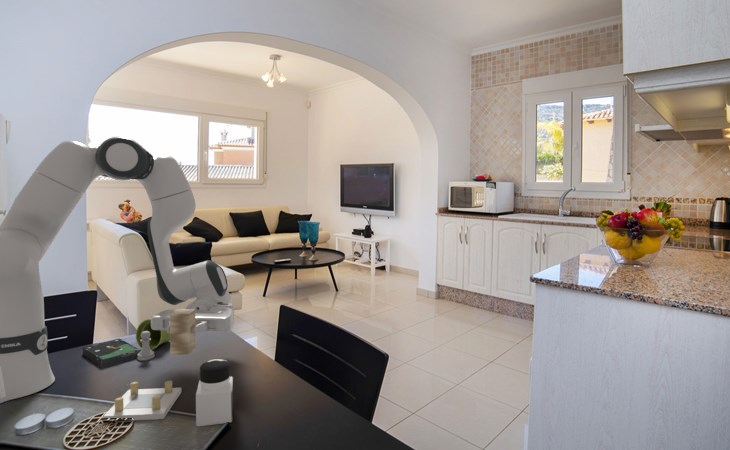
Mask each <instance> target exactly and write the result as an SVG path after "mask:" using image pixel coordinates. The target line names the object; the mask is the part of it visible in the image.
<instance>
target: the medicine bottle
mask: <svg viewBox="0 0 730 450" xmlns="http://www.w3.org/2000/svg"><path fill="white" fill-rule="evenodd" d="M230 365H231V364H230V362H229V361H227V360H225V359H222V358H221V359H220V358H216V359H209V360H208V361H205V362H203V363H202V364H201V365H200V367H199V380H198V385H197V387H196V388H197V389H196V392H195V426H196V427H198V428H199V427H206V426H208V427H209V426H213V425H214V426H215V425H222V424H227V423H226V422H229V423H232V422H233V418H234V417H233V416H234V413H233V412H234V377H233V376H231V367H230ZM229 423H228V424H229Z"/></svg>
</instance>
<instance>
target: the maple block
mask: <svg viewBox="0 0 730 450" xmlns="http://www.w3.org/2000/svg"><path fill="white" fill-rule="evenodd" d="M174 310H175V311H174V312H172V313H171V314H170V341H169V342H170V343H169V344H170V345H169V346H170V347H169V350H170V351H169V352H170V353H169V354H170V355H172V356H173V355H174V356H175V355H178V356H179V355H180V356H181V355H183V356H189V355H190V354H191V353H192V352H193V351H194V350H196V342H197V341H196V336H197V334H191V326H193V325H196V309H186V308H177V309H174Z"/></svg>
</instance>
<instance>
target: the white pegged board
mask: <svg viewBox="0 0 730 450" xmlns="http://www.w3.org/2000/svg"><path fill="white" fill-rule="evenodd" d="M129 385H130V389H127V391H126V392H125V393H123V395H122V396H121V397H117V398H115V399H114V404H113V405H112V406H111V407H110V409H109V410H108V411H106V412H105V414H104V415H103V416H102V417H103V418H121V419H123V418H133V419H134V420H133V421H145V420H146V421H150V420H164V419H165V417H166V416H167V415H168V413H169V412H170V410H171V408H172V407H173V406H174V404H175V402H176V401H177V399H179V397H180V395H181V393H182V387H173V380H166V381H164V388H163V387H161V388H160V387H159V388H139V382H138V381H132V382H131V383H129ZM103 418H102V419H103Z"/></svg>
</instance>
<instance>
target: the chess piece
mask: <svg viewBox="0 0 730 450" xmlns="http://www.w3.org/2000/svg"><path fill="white" fill-rule="evenodd" d="M149 337H150V332H149V331H143V332H142V333H141V338H142V339H141V340H140V341H141V342H142V348H141V350H139V351H140V353H138V354H137V355H138V357H137V358H136V359H137V360H138V361H143V362H144V361H150V360H152V359H154V358H155V356H156V355H155V351H154V350H151V349H150V347H149V341H150V340H151V338H149Z"/></svg>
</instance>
